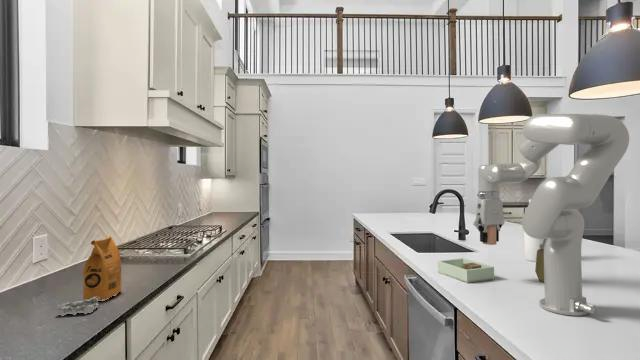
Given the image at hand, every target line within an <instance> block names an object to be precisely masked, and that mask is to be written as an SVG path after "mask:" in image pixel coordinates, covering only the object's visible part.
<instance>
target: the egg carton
mask: <svg viewBox="0 0 640 360" xmlns="http://www.w3.org/2000/svg"><path fill="white" fill-rule="evenodd" d="M99 298H100V297H99V296H98V297H97V296H96V297H92V298H90V299H89V300H84V299H83V300H82V301H81V300H78V301H74V302H63V303H62V304H58V306H56V308H58V309H57V311H58V312H57V314H58V313H60V314H62V313H66V312H69V311H71V312H77V311H81V310H82V311H84V312H87V311H90V310H93V309H94V307H95V306H98V305H99V303H100V302H98V301H97V300H99ZM82 305H85V306H82ZM80 306H81V307H80Z"/></svg>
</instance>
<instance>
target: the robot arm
mask: <svg viewBox="0 0 640 360" xmlns="http://www.w3.org/2000/svg"><path fill="white" fill-rule="evenodd" d="M522 134H523V136H524V138H523V139H522V140H520V142H519V143H518V150H519V152H520V154H521V155H522V158H521V159H520V160H519V161H518V162H515V163H512V162H511V163H507V162H506V163H494V164H482V165H479V167H478V169H477V171H478V173H477V174H478V175H477V177H478V178H477V179H478V180H477V181H478V189H477V190H478V193H477V194H476V195H477V197H478V199H477V202H476V208H475V219H474V221H473V222H472V223H473V224H472V225H473V226H474V227H475V228H476V229H477V230H478V232H479V242H481V243H483V242H484V243H487V233H486V229H487V225H494V226H496V238H497V242H498V243H499V242H500V241H499V237H500V233H499V232H501V228H502V227H503V226H504V224H505V223H506V221H505V218H504V217H505V216H504V215H505V214H504V206H503V200H502V198H501V197H500V192H501V189H500V187H501V185H500V184H502V185H503V184H505V185H506V184H520V183H522V182H524V181H526V180H528V179H529V178H530V177H532V176H533V175H534V174H536V173H537V172H538V171H539V169H540V167H541V165H542V160H543V158H545V156H546V155H548V154H549V153H550V152H551V151H553V150H555V148H557V147H558V146H559V145H565V146H568V145H569V146H590V147H588V149H587V150H586V151H584V153H582V154H581V156H579V157H578V159H577V160H576V161H575V163H574V165H573V167H572V169H571V170H570V172H569V173H568V174H567V175H565V176H553V177H550V178H549V177H548V178H547V179H545V180H544V181H542V182H541V183H540V184H539V185H538V186H537V188H536V190H535V191H534V192H533V195H532V197H531V198H530V199H531V201H530V203H529V202H528V206H527V207H526V208H525V211H524V213H523V216H522V222H521V223H522V224H521V225H522V229H523V232H524V231H525V232H526V234H527V235H529V236H530V237H532V238H536V239H547V240H546V243H545V246H544V282H543V283H544V298H541V299H540V300H539V305H538V306H540V307H541V308H542V309H544V310H546V311H549V312H551V313H555V314H559V315H560V314H561V315H565V316H572V317H574V316H576V317H577V316H578V317H579V316H580V317H581V316H586V315H589V313H590V314H594V313H595V312H596V304H592V303H588V301H587V297H586V296H583V276H582V274H583V273H582V272H583V271H582V243H583V235H584V232H585V231H584V230H585V219H584V216H583V215H582V213H581V212H580V211H579V210H580V209H585V208H588V207H591V205H593V203H594V202H595V201H596V199H597V198H598V196H599V194H600V193H601V191H602V189H603V187H604V186H605V185H606V183H607V181H608V180H609V178H610V176H611V175H612V173H613V171H614V170H615V168H616V167H617V166H618V164H619V163H620V161H622V159H623V157H624V156H625V154H626V153H627V150H628V147H629V146H630V133H629V131H628V127H627V126H626V125H625V124H624V122H623V121H622V120H620V119H619V118H617V117H614V116H612V115H609V114H608V115H607V114H597V113H596V114H595V113H594V114H592V113H591V114H589V113H588V114H587V113H537V114H533V115H531V116H529V117H528V118H527V119H526V120H525V122H524V123H523V125H522ZM578 209H579V210H578ZM483 226H484V227H483Z"/></svg>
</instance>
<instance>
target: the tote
mask: <svg viewBox="0 0 640 360" xmlns="http://www.w3.org/2000/svg"><path fill="white" fill-rule="evenodd" d="M465 263H475V264H479V265H481V268H477V269H469V270H466V269H463V264H465ZM437 273H438V274H441V275H444V276H446V277H449V278H452V279H455V280H458V281H460V282H463V283H464V284H465V283H466V284H470V283H471V284H473V283H477V282H486V281H493V280H495V267H494V266H492V265H488V264H484V263H481V262H478V261H475V260H470V259H467V258H464V257H463V258H462V257H461V258H454V259H451V258H450V259H444V260H437Z"/></svg>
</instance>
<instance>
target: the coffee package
mask: <svg viewBox="0 0 640 360" xmlns="http://www.w3.org/2000/svg"><path fill="white" fill-rule="evenodd" d="M90 245H93V246H94V247H93V248H92V250H91V254H90V255H89V256H88V258H87V260H86V262H85V263H84V267H83V270H82V279H83V280H82V281H83V287H82V288H83V292H82V293H83V294H82V295H83V296H82V298H83V301H84V300H89V299H90V298H92V297H96V296H97V297H98V296H99V297H100V298H99V300H102V299H107V298H109V297H111V296H113V295H115V294H118V293H119V292H120V291H121V292H122V262H121V261H122V259H121V253H120V250H119V248H118V246H117V245H116V242H115V241H114V239H113V238H112V236H110V235H109V236H106V238H103V239H95V240H94V239H92V241H91V242H90ZM121 292H120V293H121ZM120 293H119V294H120ZM119 294H118V295H119ZM111 298H112V297H111Z"/></svg>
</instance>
